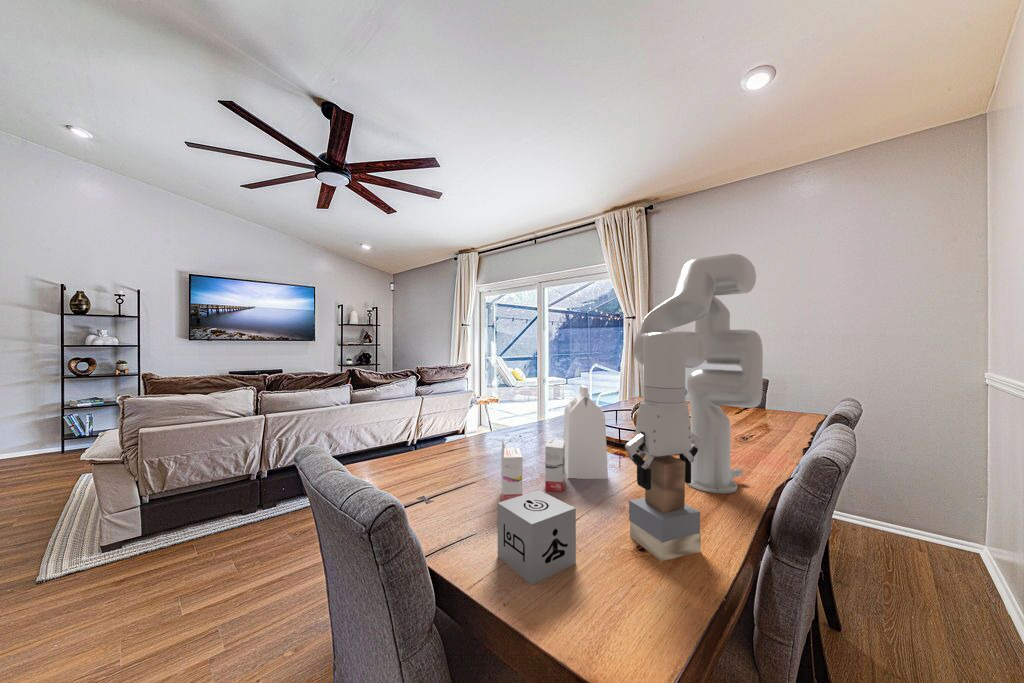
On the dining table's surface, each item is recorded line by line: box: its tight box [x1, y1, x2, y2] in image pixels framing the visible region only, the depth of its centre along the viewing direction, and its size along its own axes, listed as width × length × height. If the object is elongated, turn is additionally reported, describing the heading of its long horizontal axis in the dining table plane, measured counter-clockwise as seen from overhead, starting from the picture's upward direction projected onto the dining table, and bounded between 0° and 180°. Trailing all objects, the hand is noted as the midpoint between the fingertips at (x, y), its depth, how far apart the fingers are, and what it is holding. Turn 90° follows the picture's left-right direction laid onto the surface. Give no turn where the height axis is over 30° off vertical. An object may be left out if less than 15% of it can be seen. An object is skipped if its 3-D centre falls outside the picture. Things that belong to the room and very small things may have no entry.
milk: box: [563, 384, 609, 480], centre depth 114 cm, size 12×12×26 cm
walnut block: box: [644, 455, 686, 513], centre depth 73 cm, size 5×5×9 cm
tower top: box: [628, 497, 701, 543], centre depth 73 cm, size 9×9×4 cm
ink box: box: [544, 438, 566, 493], centre depth 103 cm, size 9×5×12 cm, turn 168°
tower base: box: [629, 521, 702, 562], centre depth 73 cm, size 9×9×4 cm
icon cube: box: [497, 489, 577, 586], centre depth 68 cm, size 10×10×10 cm
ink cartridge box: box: [500, 437, 524, 501], centre depth 94 cm, size 9×5×15 cm, turn 5°
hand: (664, 484), depth 73 cm, fingers open, 9 cm apart
